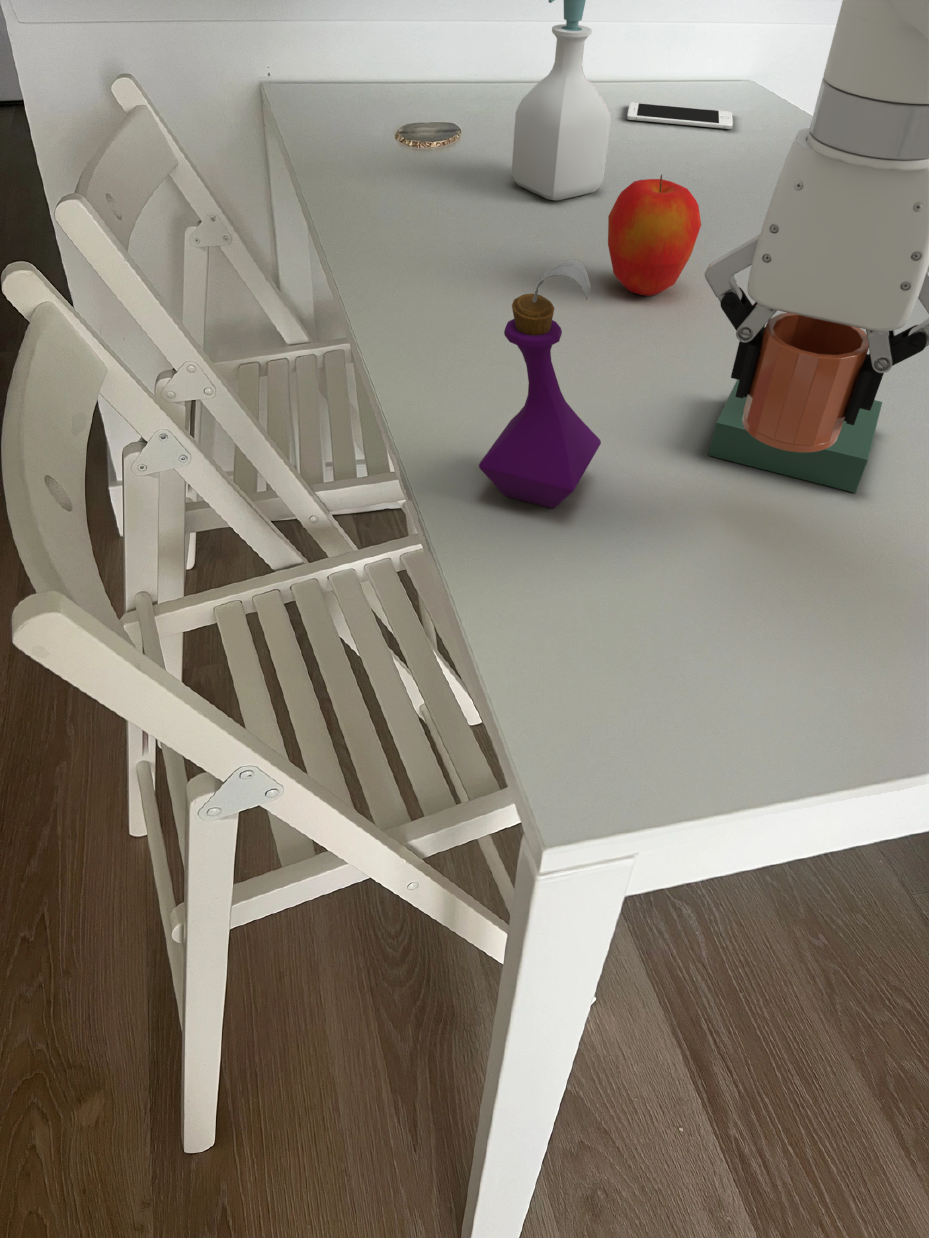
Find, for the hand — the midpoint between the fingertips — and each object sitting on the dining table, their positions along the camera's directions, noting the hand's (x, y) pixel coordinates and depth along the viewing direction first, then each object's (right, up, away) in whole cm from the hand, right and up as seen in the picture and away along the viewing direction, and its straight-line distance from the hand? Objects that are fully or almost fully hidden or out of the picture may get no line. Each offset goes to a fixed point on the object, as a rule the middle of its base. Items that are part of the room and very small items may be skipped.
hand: (797, 400), depth 68 cm
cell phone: (+11, +63, +87) cm, 108 cm away
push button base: (+5, 0, +16) cm, 17 cm away
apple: (-4, +20, +38) cm, 43 cm away
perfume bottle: (-17, -5, +10) cm, 20 cm away
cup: (0, -2, +1) cm, 2 cm away
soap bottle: (-11, +41, +61) cm, 74 cm away
